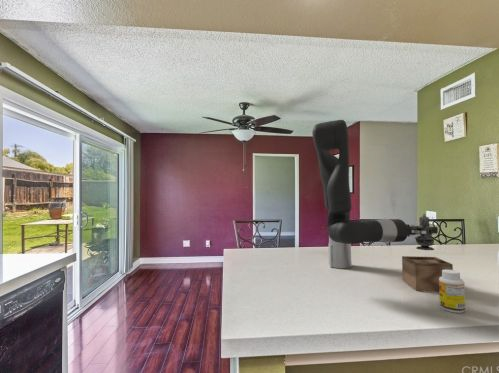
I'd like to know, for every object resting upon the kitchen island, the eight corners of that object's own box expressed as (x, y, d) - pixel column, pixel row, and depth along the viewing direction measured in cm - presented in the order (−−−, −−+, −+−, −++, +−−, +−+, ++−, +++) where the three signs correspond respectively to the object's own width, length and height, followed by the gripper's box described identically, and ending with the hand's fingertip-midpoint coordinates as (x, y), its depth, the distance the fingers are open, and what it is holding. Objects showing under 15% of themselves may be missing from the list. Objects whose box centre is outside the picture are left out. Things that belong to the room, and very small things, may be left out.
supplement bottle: (441, 303, 78) (439, 267, 79) (466, 308, 75) (464, 270, 75) (438, 310, 74) (437, 271, 75) (465, 315, 71) (463, 275, 71)
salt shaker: (438, 250, 91) (437, 214, 91) (419, 250, 92) (417, 213, 92) (430, 247, 96) (429, 213, 97) (412, 247, 98) (411, 213, 98)
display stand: (416, 291, 89) (415, 263, 90) (402, 280, 100) (401, 256, 100) (453, 292, 88) (452, 264, 88) (435, 281, 98) (434, 256, 99)
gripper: (403, 220, 85) (450, 219, 88) (373, 217, 99) (414, 217, 102) (404, 245, 84) (450, 243, 88) (374, 239, 98) (415, 237, 102)
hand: (431, 229), depth 95 cm, fingers closed on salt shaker, 3 cm apart
